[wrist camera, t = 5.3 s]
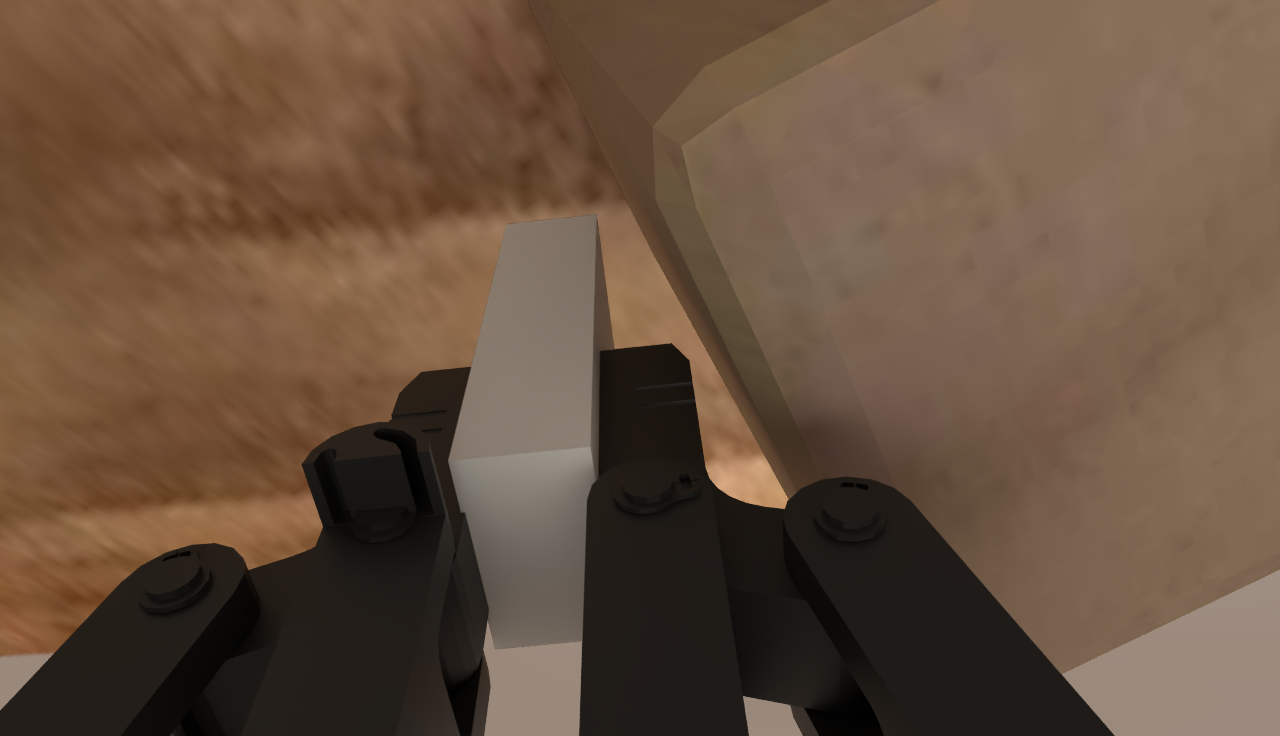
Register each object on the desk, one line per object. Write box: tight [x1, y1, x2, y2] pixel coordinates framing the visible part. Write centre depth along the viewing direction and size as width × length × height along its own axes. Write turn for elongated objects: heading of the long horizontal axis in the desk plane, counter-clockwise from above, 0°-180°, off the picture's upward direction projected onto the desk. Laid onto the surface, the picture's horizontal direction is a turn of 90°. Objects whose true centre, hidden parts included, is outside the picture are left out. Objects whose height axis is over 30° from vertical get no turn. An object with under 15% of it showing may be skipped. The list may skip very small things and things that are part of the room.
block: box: [529, 0, 1280, 674], centre depth 20 cm, size 10×10×20 cm
